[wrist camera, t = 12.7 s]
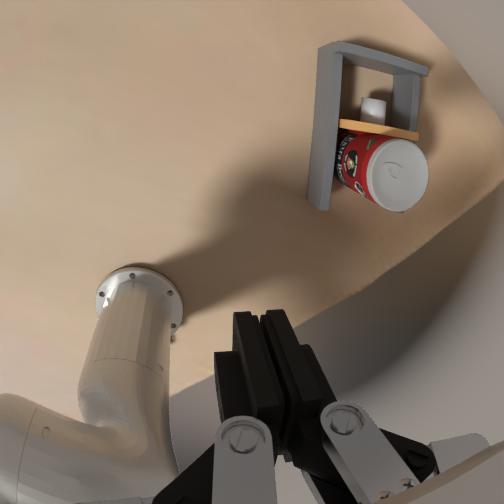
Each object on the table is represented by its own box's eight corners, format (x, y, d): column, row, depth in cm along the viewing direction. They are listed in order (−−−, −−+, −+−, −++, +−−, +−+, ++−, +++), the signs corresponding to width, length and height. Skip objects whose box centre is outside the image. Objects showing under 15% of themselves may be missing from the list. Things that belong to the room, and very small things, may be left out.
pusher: (386, 134, 38) (418, 141, 32) (325, 125, 36) (351, 129, 30) (389, 105, 36) (421, 108, 30) (328, 94, 35) (354, 92, 28)
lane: (386, 202, 42) (410, 216, 37) (306, 199, 40) (323, 214, 35) (400, 68, 34) (428, 66, 29) (318, 48, 32) (339, 39, 27)
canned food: (329, 124, 36) (375, 132, 27) (382, 134, 38) (435, 147, 28) (321, 183, 40) (363, 209, 30) (373, 188, 41) (421, 214, 31)
